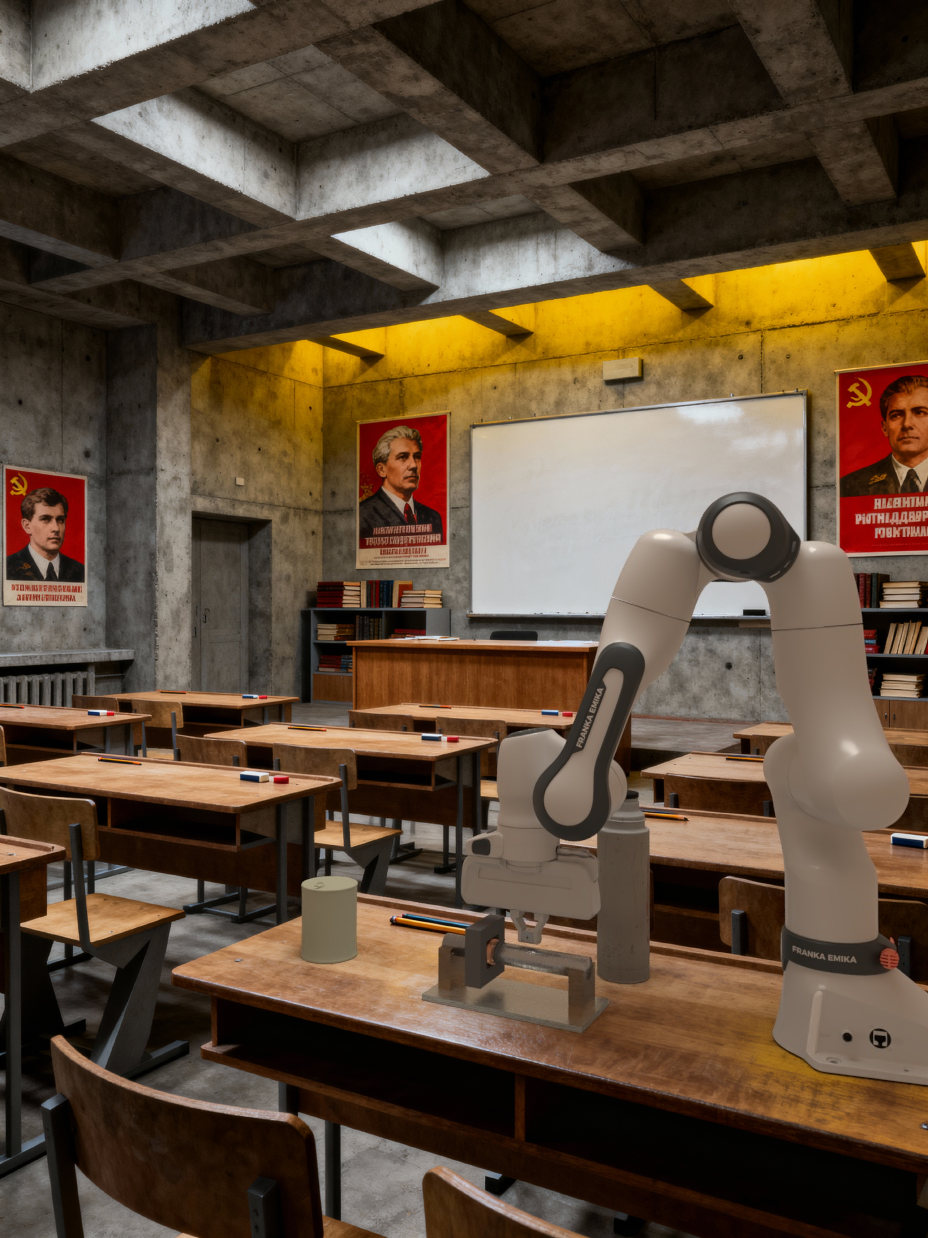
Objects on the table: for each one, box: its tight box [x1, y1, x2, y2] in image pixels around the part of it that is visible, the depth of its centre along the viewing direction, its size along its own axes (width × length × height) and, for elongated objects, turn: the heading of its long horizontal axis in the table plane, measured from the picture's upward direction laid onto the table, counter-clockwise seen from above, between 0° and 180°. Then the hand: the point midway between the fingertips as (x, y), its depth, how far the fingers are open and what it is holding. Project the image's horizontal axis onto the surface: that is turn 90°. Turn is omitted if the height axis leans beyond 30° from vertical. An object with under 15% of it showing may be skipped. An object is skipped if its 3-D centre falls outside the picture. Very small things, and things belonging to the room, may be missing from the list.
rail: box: [421, 932, 610, 1034], centre depth 130 cm, size 24×11×8 cm, turn 62°
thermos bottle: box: [596, 789, 651, 984], centre depth 142 cm, size 8×8×28 cm
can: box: [299, 875, 359, 965], centre depth 150 cm, size 9×9×12 cm
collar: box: [464, 913, 506, 989], centre depth 132 cm, size 2×8×8 cm, turn 152°
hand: (529, 942), depth 129 cm, fingers closed
